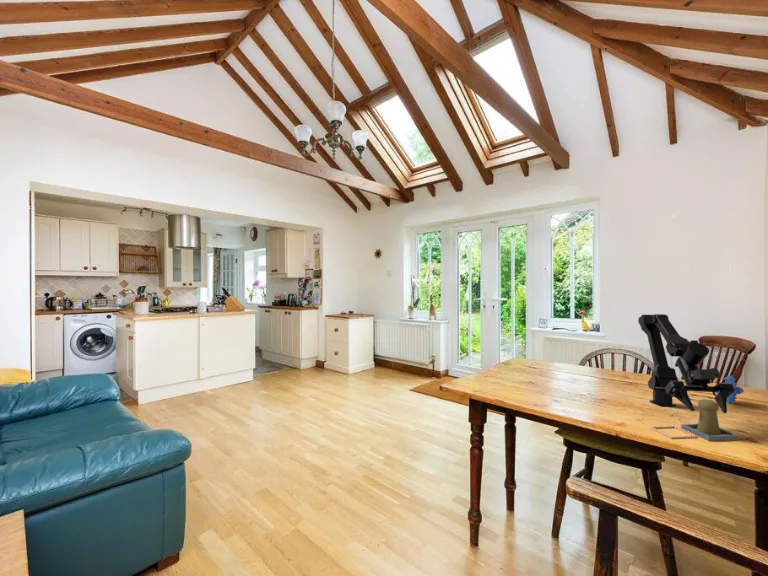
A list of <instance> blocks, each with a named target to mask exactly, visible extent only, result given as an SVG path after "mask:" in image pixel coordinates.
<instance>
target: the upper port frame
mask: <svg viewBox="0 0 768 576" xmlns="http://www.w3.org/2000/svg"><path fill="white" fill-rule="evenodd" d="M673 427H674V428H673ZM649 428H650V429H651V430H654V431H655V432H657V433H659V434H661V435H662V436H664V437H667V438H668V439H671V438H680V439H697V438H698V436H697V435H694V434H692V433H690V432H688V431H686V430H684V429H682V428H681V427H678V426H675V425H658V426H654V425H653V426H649ZM655 428H657V429H655ZM675 428H677V429H676V430H678V429H679V430H678V431H680V430H681V431H680V432H682V431H683V432H682V433H684V432H685V433H684V434H686V433H687V434H686V435H681V436H680V435H678V436H677V435H676V436H675V435H673V436H671V435H670V434H667V433H666V432H663V431H661V430H660V429H675ZM688 434H689V435H688ZM690 435H691V436H690Z"/></svg>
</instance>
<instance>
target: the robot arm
mask: <svg viewBox="0 0 768 576" xmlns="http://www.w3.org/2000/svg"><path fill="white" fill-rule="evenodd" d="M637 321H638V324H639V326H640V329H641V330H642V331H643V332H644V333H645V334H646V336H647V340H648V341H647V342H648V345H649V349H650V353H651V357H652V361H653V369H652V371H651V372H650V373H651V375H650V376H651V377H649V380H648V381H647V386H648V388H649V389H650V390H652V399H651V400H649V402H650V403H652V404H655V405H657V406H660V407H676V405H677V404H675V403H673V401H674V400H673V398H675V399H676V400H678V401H680V402H681V403H682V404H683V405H684V406H685V407H686V408H688V409H689V410H690V411H691V412H695V408H694V405H693V403H692V401H691V399H690V396H689V395H688V392H700V393H701V392H702V393H703V392H704V393H711V394H713V396H715V397H714V400H715V402H716V403H717V404H718V406H719V408H720V410H721V411H722V412H723V414H727V413H728V406H727V403H728V402H727V397H729V396H730V395H731V394H732V393H733V392H734V391H735V388H734V386H733V385H732V384H730V383H725V382H717V383H716V384H715V385H711V386H710V384H711V383H712V381H713V380H716V379H718V378H720V377H721V374H720V371H719V369H718V368H717V367H711V368H709V369H706V368H705V369H704V368H702V369H701V368H700V367H699V365H700V364H702V362H703V361H704V360H705V359H706V357H708V355H709V354H710V349H709V348H708V347H707V346H706V345H705V344H703V343H700V342H699V341H698V340H690V341H689V340H688V339H687V338H685V337H683V336H681V335H680V334H679V332H678V331H677V329H676V328H675V327H674V325H673V324H672V322H671V321H670V318H669V315H667V314H664V313H663V314H662V313H661V314H660V313H658V314H657V313H654V314H641V316H639V317H638V320H637ZM662 337H663V338H664V340H665V342H666V344H665V346H664V343H663V338H662ZM665 349H666V350H665ZM666 352H667V354H668V355H669V356H670V357H673V358H675V357H677V359H676V361H675V363H674V367H675V368H677V367H678V369H679V372H680V373H681V377H680V378H681V380H679V378H678V377H677V373H676V369H675V368H673V367H672V368H671V366H670V365H669V363H668V359H667V355H666ZM684 382H685V383H684Z"/></svg>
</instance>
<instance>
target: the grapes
mask: <svg viewBox="0 0 768 576" xmlns="http://www.w3.org/2000/svg"><path fill="white" fill-rule="evenodd" d="M724 381H725V382H724V383H730V384H732V385H733V386H734V388H735V391H734V392H733V393H732V394H731V395H730V396H729V397H727V403H728V404H733V403H735V402H736V399H737V396H738V395H741V394H743V393H744V392H745V390H744V388H742V387H740V386H738V385H737V383H736V382H735V381H737V379H736V378H735V377H734V376H732V375H727V376H726V377H724Z"/></svg>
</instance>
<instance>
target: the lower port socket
mask: <svg viewBox="0 0 768 576" xmlns="http://www.w3.org/2000/svg"><path fill="white" fill-rule="evenodd" d="M697 427H698V423H688V424H687V423H686V424H685V423H683V424H681V427H680V429H682V430H685V431H687V432H688V431H689V433H690V432H691V434H692V433H693V435H694V434H695V435H696V436H697V437H699V438H701V439H703V438H704V439H703V440H705V439H706V440H705V441H707V442H718V441H719V442H720V441H739V440H740V436H739V434H736V433H734V432H732V431H729V430H726V429H724V428H721V427H719V429H720V434H721V435H707V434H705V433H702V432H700V431H698V430H697Z"/></svg>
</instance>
